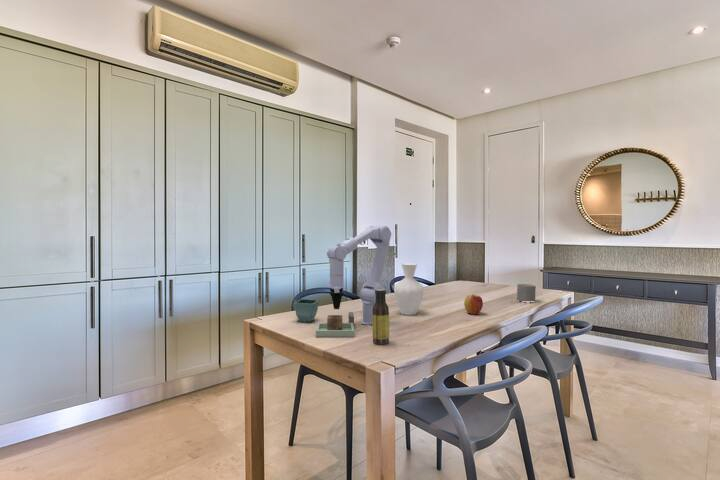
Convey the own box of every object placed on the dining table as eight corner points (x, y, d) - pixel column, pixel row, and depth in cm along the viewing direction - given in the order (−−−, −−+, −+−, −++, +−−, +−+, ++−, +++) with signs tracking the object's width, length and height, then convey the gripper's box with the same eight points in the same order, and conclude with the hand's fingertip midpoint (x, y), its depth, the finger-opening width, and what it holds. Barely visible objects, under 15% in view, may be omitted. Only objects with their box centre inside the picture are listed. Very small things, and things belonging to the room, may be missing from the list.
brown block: (342, 329, 154) (342, 315, 154) (342, 333, 148) (342, 318, 148) (327, 329, 153) (327, 315, 153) (327, 333, 147) (327, 318, 147)
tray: (352, 328, 157) (352, 322, 157) (354, 337, 145) (354, 330, 145) (317, 328, 156) (317, 323, 156) (315, 337, 144) (315, 330, 144)
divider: (352, 323, 167) (353, 311, 167) (353, 328, 158) (354, 316, 158) (348, 323, 167) (348, 311, 166) (349, 328, 158) (349, 316, 158)
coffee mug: (528, 304, 216) (528, 286, 215) (513, 301, 224) (513, 284, 224) (542, 301, 223) (542, 285, 222) (527, 299, 231) (527, 283, 231)
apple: (473, 316, 182) (473, 296, 182) (459, 312, 190) (460, 293, 190) (486, 314, 187) (486, 295, 186) (472, 311, 195) (473, 292, 194)
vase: (403, 309, 197) (403, 262, 196) (427, 313, 189) (428, 264, 188) (389, 313, 185) (389, 264, 185) (414, 318, 177) (415, 266, 176)
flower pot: (312, 323, 165) (312, 303, 164) (293, 322, 166) (294, 302, 166) (318, 319, 173) (319, 300, 173) (300, 317, 175) (301, 299, 175)
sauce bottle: (392, 341, 140) (392, 289, 139) (383, 346, 134) (384, 291, 134) (377, 338, 143) (378, 287, 143) (368, 342, 138) (369, 289, 137)
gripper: (327, 272, 161) (327, 303, 162) (326, 277, 147) (326, 311, 147) (343, 272, 162) (343, 303, 162) (344, 276, 147) (344, 310, 148)
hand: (336, 307), depth 155 cm, fingers open, 7 cm apart
